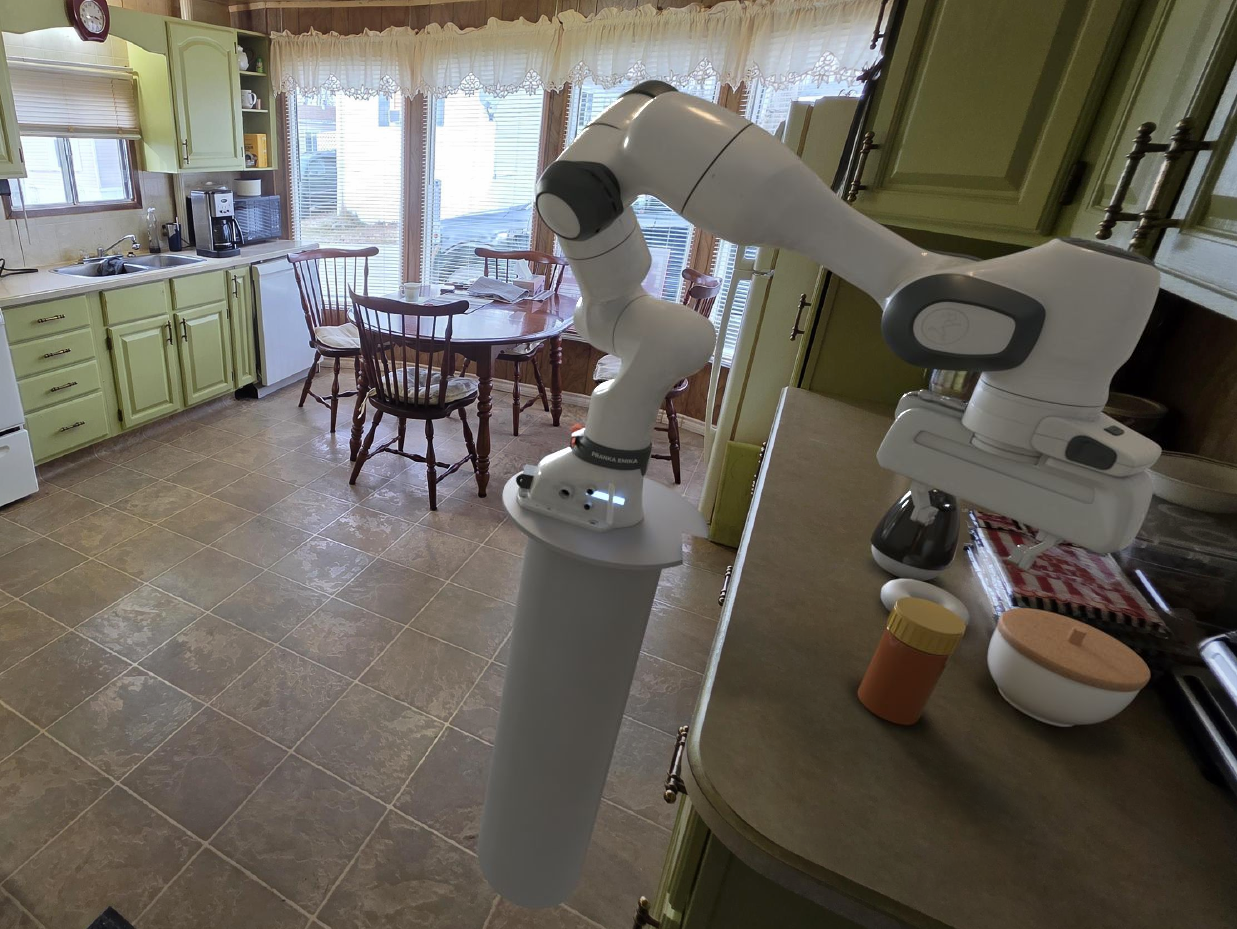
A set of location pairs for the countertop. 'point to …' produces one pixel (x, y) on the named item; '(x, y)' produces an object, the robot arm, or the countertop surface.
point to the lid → (926, 626)
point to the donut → (922, 595)
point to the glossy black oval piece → (917, 538)
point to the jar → (900, 680)
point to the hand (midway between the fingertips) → (967, 542)
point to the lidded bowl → (1062, 668)
